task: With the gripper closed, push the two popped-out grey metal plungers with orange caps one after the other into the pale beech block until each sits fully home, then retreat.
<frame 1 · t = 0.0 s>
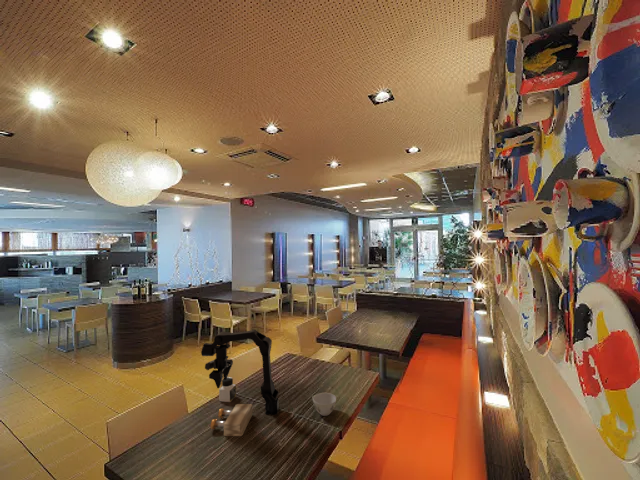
hand: (221, 383, 157), 15 cm above the table, fingers open, 9 cm apart
medicine bottle: (227, 398, 169), on the table
knob outer: (222, 424, 140), point 3 cm above the table, slide at 5.0 cm
teacup: (323, 412, 153), on the table
beech block: (238, 424, 144), on the table
knob inner: (229, 413, 149), point 3 cm above the table, slide at 5.0 cm
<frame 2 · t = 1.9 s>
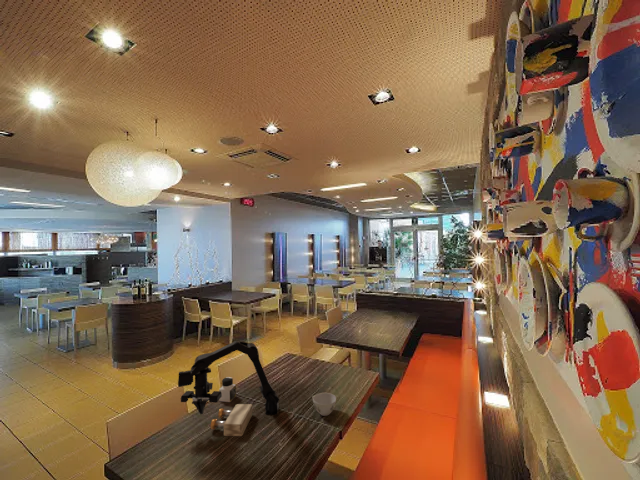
hand: (201, 413, 141), 8 cm above the table, fingers closed
nothing on the table moved.
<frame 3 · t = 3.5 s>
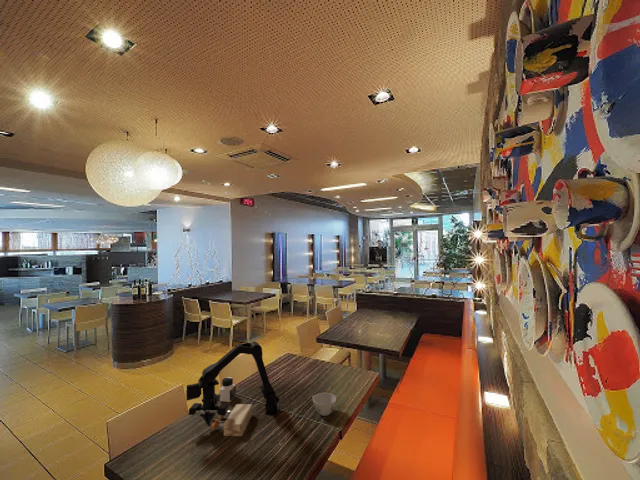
hand: (209, 426, 140), 2 cm above the table, fingers closed
knob outer: (223, 424, 140), point 3 cm above the table, slide at 4.5 cm, touching gripper
everything else where it was.
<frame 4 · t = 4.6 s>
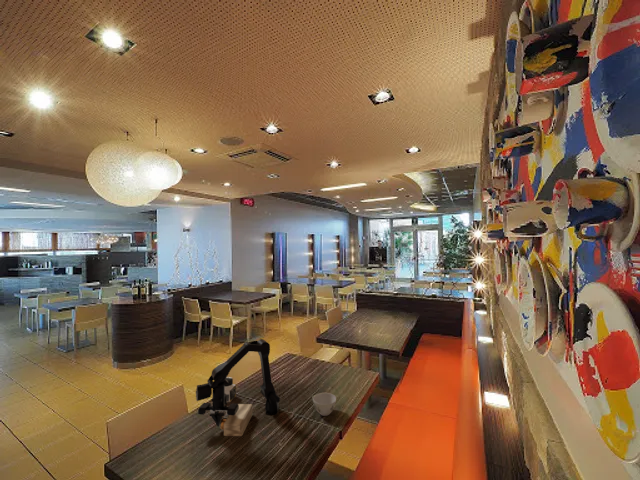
hand: (218, 426, 140), 2 cm above the table, fingers closed
knob outer: (232, 424, 139), point 3 cm above the table, slide at -0.1 cm, touching gripper
everything else where it was.
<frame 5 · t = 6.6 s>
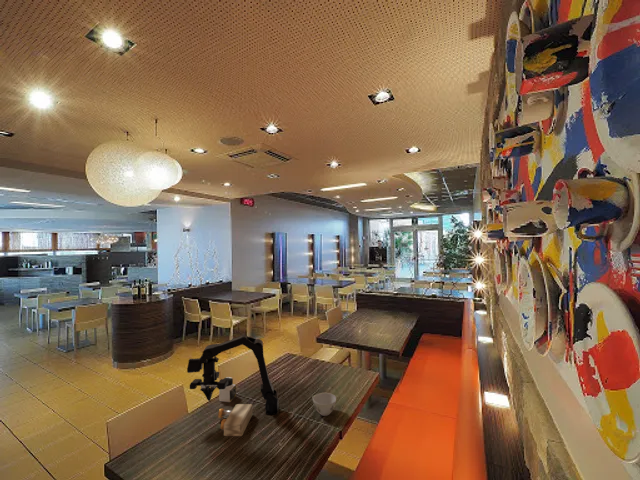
hand: (209, 400, 149), 10 cm above the table, fingers closed
knob outer: (232, 424, 139), point 3 cm above the table, slide at 0.0 cm
everything else where it was.
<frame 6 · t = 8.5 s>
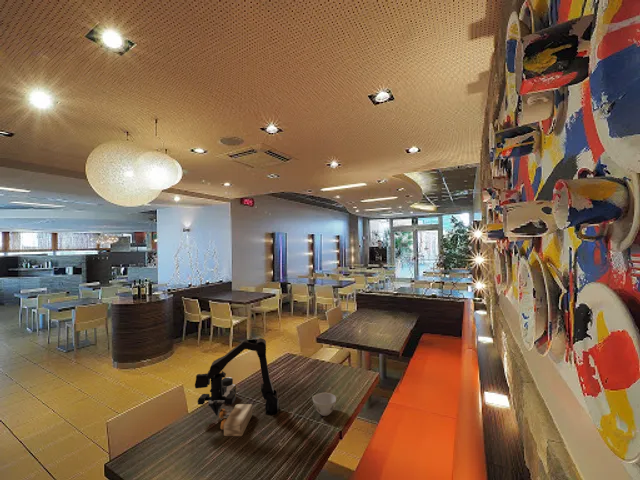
hand: (217, 415, 149), 2 cm above the table, fingers closed
knob inner: (230, 413, 149), point 3 cm above the table, slide at 4.5 cm, touching gripper
everything else where it was.
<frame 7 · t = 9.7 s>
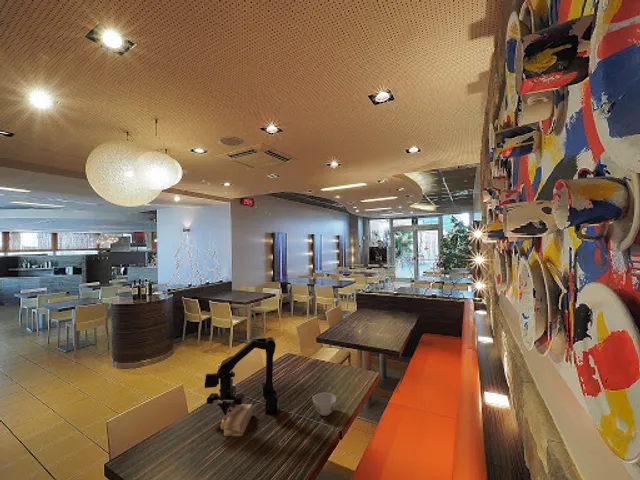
hand: (225, 414, 149), 2 cm above the table, fingers closed
knob inner: (238, 413, 148), point 3 cm above the table, slide at -0.1 cm, touching gripper
everything else where it was.
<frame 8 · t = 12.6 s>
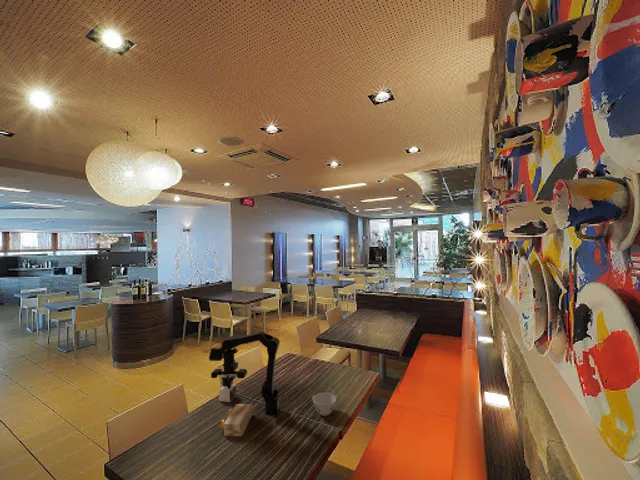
hand: (229, 388, 157), 12 cm above the table, fingers closed
knob inner: (238, 413, 148), point 3 cm above the table, slide at 0.0 cm
everything else where it was.
at the end: knob outer slide at 0.0 cm; knob inner slide at 0.0 cm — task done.
